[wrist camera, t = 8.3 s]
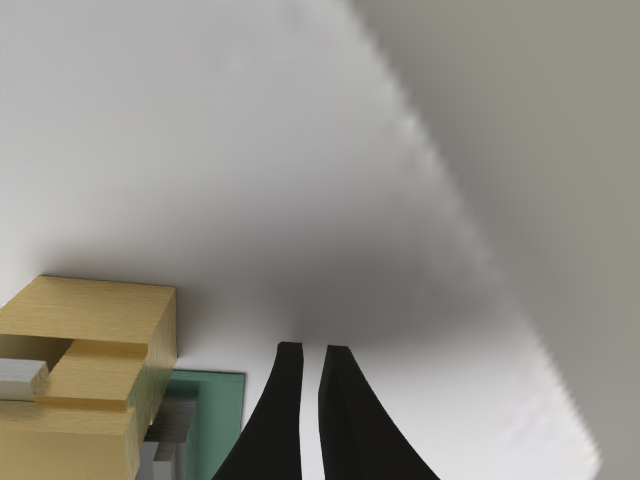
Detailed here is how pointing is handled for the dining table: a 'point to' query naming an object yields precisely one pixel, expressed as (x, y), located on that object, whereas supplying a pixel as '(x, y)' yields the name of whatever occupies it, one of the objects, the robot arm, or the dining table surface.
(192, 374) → the block
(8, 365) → the grey long flat bar
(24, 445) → the clip
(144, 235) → the dining table surface
